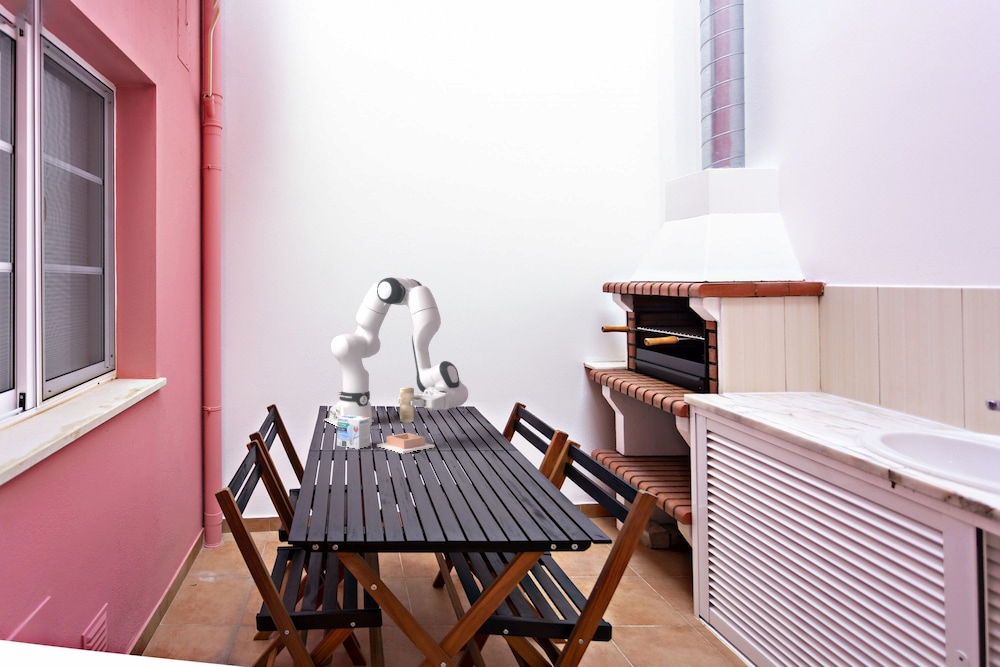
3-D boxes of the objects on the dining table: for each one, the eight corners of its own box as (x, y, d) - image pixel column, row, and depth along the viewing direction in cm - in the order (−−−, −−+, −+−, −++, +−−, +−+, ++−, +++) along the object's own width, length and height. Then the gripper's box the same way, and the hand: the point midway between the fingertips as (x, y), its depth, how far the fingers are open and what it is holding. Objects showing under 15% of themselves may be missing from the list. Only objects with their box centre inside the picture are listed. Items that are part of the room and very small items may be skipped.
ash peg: (396, 421, 260) (397, 388, 259) (407, 419, 264) (407, 387, 263) (405, 422, 257) (406, 389, 256) (416, 421, 260) (416, 388, 260)
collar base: (376, 446, 260) (376, 436, 260) (408, 441, 271) (408, 430, 271) (402, 454, 250) (403, 442, 250) (434, 447, 261) (434, 437, 261)
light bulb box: (336, 446, 260) (336, 417, 260) (348, 443, 266) (348, 414, 266) (359, 449, 255) (359, 420, 255) (371, 446, 261) (371, 417, 261)
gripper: (415, 387, 276) (387, 390, 266) (451, 393, 262) (423, 396, 252) (415, 403, 277) (387, 407, 266) (451, 410, 263) (423, 414, 253)
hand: (404, 402), depth 259 cm, fingers closed on ash peg, 5 cm apart
